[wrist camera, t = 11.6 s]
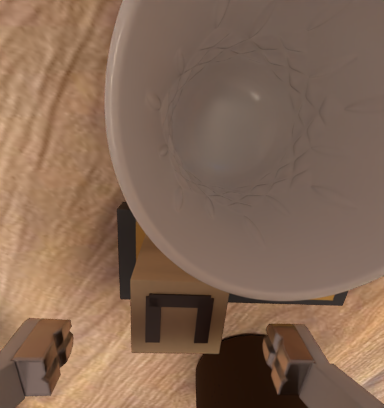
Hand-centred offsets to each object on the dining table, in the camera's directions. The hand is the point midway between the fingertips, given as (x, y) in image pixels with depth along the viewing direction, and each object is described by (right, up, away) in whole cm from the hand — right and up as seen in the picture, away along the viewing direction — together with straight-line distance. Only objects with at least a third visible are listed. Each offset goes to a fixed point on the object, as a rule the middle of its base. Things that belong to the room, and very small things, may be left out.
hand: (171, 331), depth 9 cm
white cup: (+3, +10, +5) cm, 11 cm away
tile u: (0, +1, +6) cm, 6 cm away
